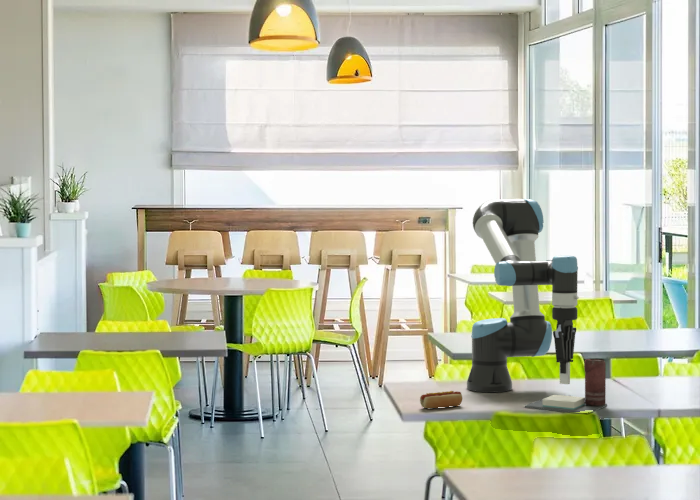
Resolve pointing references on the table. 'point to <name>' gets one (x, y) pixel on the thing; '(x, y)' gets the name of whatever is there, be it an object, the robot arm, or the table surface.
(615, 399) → the table surface
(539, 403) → the mat
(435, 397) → the food
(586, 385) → the can
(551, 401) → the tile
